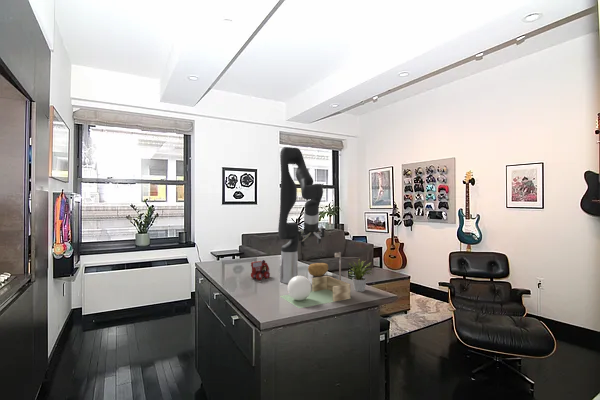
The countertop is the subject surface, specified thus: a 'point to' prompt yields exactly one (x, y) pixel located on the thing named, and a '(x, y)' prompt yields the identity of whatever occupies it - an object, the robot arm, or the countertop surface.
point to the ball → (299, 288)
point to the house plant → (359, 276)
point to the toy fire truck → (260, 270)
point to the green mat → (312, 299)
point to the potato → (318, 269)
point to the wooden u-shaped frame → (333, 284)
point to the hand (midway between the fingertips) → (310, 244)
